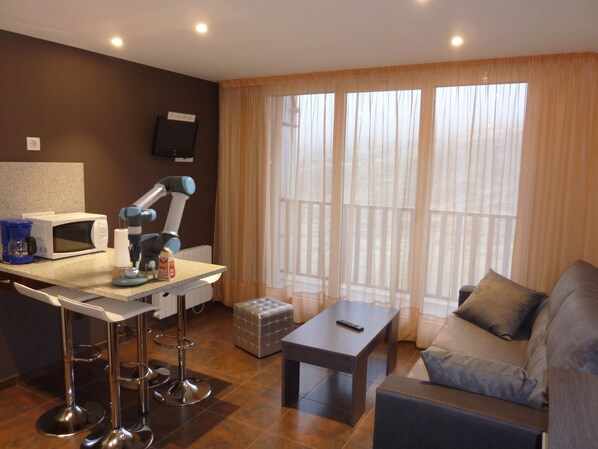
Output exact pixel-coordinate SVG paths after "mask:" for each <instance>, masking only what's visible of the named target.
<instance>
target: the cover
mask: <svg viewBox="0 0 598 449" xmlns="http://www.w3.org/2000/svg"><path fill="white" fill-rule="evenodd" d="M139 274H140V270H139V269H135V267H132V266H131V267H128V268H127V269H124V275H125V278H127V279H134V278H138V277H139Z"/></svg>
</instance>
